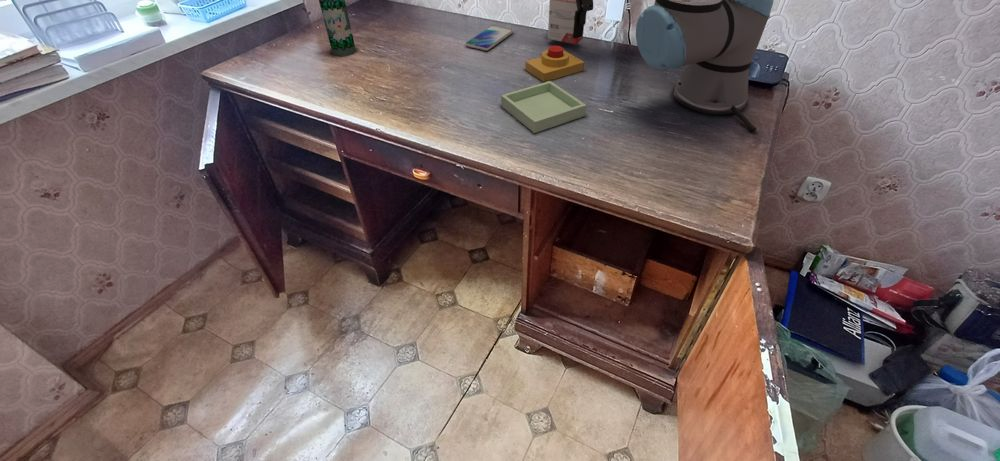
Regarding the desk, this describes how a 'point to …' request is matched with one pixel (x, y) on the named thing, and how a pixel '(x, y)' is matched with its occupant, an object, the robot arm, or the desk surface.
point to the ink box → (562, 21)
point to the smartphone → (489, 38)
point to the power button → (555, 51)
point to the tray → (543, 106)
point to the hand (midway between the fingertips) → (566, 31)
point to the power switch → (554, 66)
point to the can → (338, 26)
